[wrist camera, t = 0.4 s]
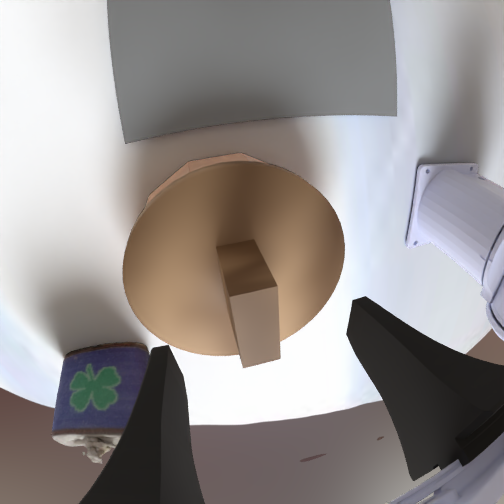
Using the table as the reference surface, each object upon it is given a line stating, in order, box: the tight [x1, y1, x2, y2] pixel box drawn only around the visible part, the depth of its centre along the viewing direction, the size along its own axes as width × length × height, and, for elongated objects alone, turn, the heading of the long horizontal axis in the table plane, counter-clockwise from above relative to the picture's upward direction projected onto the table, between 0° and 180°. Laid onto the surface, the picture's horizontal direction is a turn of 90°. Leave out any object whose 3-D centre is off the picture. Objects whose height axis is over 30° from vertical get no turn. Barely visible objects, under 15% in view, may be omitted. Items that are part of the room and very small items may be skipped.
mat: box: [107, 0, 397, 144], centre depth 13 cm, size 18×12×1 cm, turn 95°
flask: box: [51, 342, 150, 464], centre depth 19 cm, size 9×3×11 cm, turn 96°
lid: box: [123, 161, 345, 368], centre depth 15 cm, size 13×13×5 cm
